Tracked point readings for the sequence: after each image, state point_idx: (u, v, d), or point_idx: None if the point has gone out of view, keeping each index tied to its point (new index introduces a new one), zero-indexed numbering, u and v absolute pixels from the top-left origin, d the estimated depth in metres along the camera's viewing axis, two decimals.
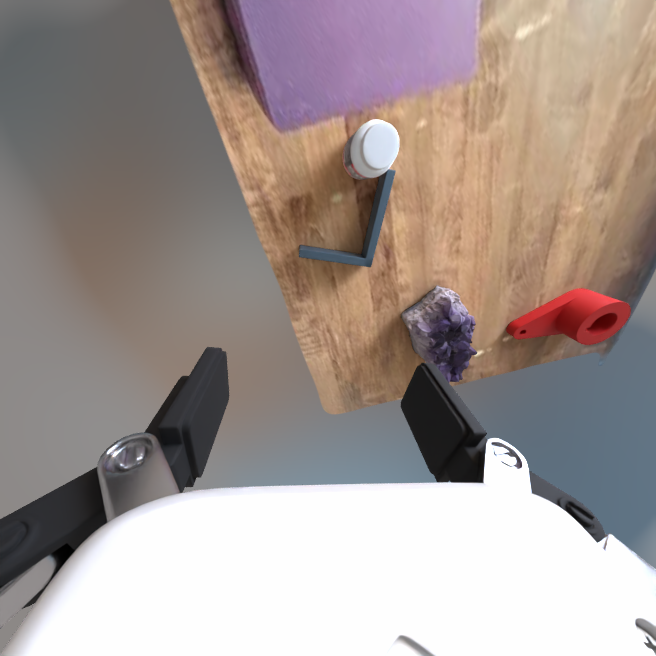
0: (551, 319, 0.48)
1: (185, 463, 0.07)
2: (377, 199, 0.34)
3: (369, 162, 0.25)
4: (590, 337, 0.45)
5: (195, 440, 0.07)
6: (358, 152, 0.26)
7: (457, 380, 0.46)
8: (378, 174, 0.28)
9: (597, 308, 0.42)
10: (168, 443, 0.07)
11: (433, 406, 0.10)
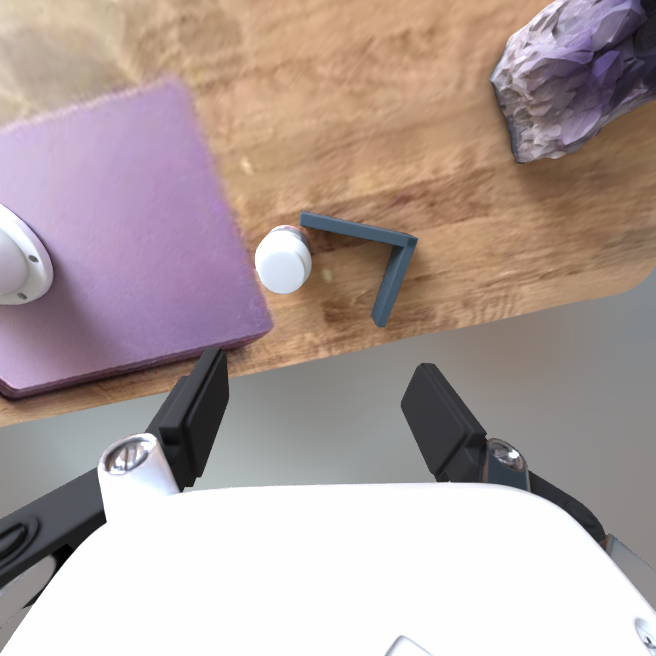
0: None
1: (185, 463, 0.07)
2: None
3: (298, 286, 0.20)
4: None
5: (195, 440, 0.07)
6: None
7: None
8: (308, 258, 0.22)
9: None
10: (168, 443, 0.07)
11: (433, 406, 0.10)
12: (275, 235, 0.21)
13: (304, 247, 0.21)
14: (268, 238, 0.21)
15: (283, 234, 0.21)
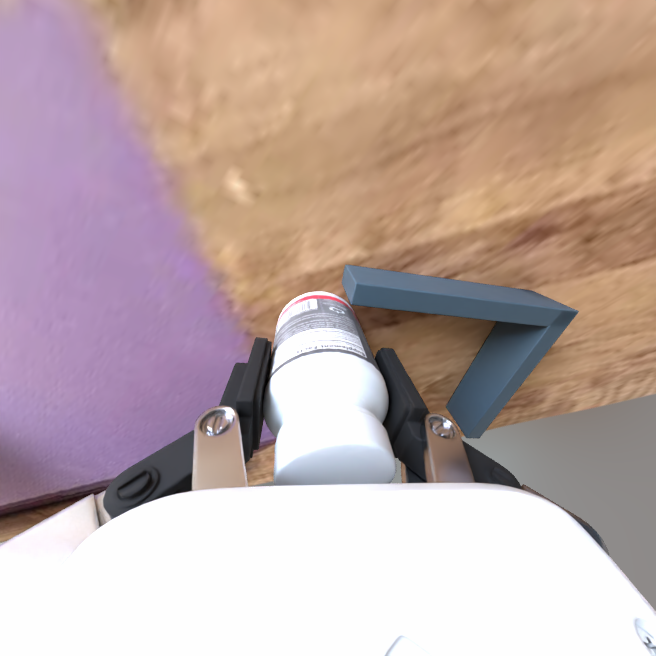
0: None
1: (251, 434, 0.08)
2: None
3: None
4: None
5: (259, 415, 0.08)
6: None
7: None
8: (386, 399, 0.09)
9: None
10: (241, 416, 0.08)
11: (386, 387, 0.10)
12: (311, 362, 0.08)
13: (378, 380, 0.09)
14: (294, 370, 0.08)
15: (330, 357, 0.08)
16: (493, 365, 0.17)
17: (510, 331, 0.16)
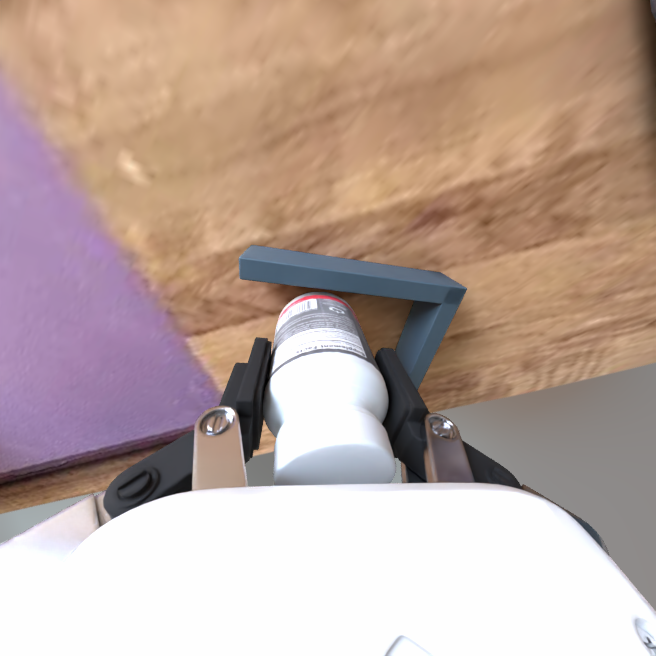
0: None
1: (251, 434, 0.08)
2: None
3: None
4: None
5: (259, 415, 0.08)
6: None
7: None
8: (386, 399, 0.09)
9: None
10: (241, 416, 0.08)
11: (386, 387, 0.10)
12: (310, 362, 0.08)
13: (378, 380, 0.09)
14: (294, 370, 0.08)
15: (329, 357, 0.08)
16: (409, 345, 0.18)
17: (420, 311, 0.17)
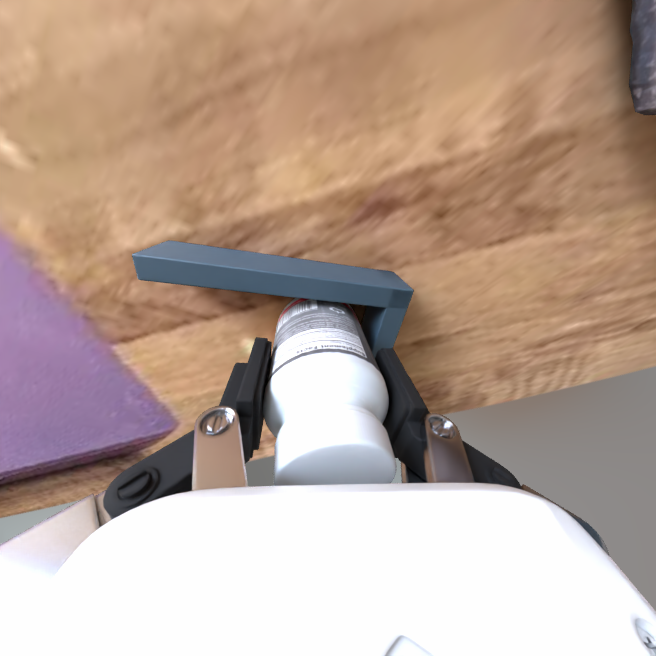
0: None
1: (251, 434, 0.08)
2: None
3: None
4: None
5: (259, 415, 0.08)
6: None
7: None
8: (386, 399, 0.09)
9: None
10: (241, 416, 0.08)
11: None
12: (311, 362, 0.08)
13: (379, 380, 0.09)
14: (294, 370, 0.08)
15: (330, 357, 0.08)
16: None
17: (370, 315, 0.15)
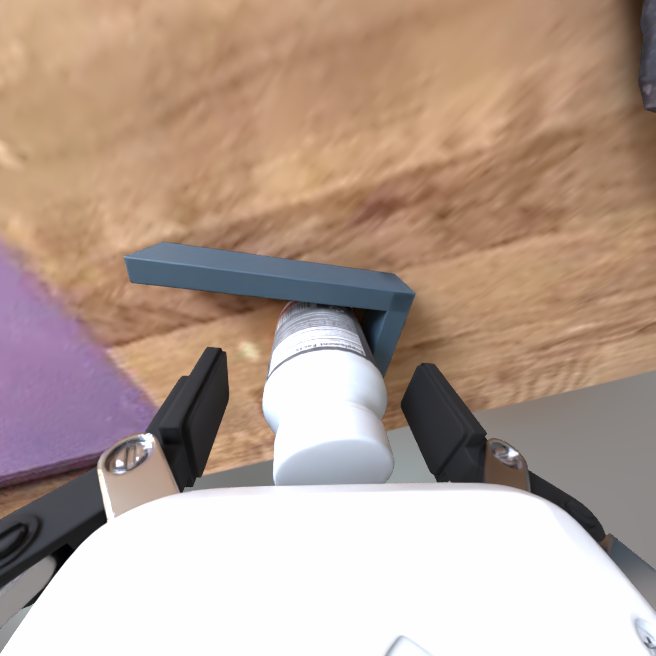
0: None
1: (185, 463, 0.07)
2: None
3: None
4: None
5: (195, 440, 0.07)
6: None
7: None
8: (384, 397, 0.09)
9: None
10: (168, 443, 0.07)
11: (433, 406, 0.10)
12: (310, 359, 0.08)
13: (377, 378, 0.09)
14: (293, 368, 0.08)
15: (329, 355, 0.09)
16: None
17: (371, 318, 0.14)
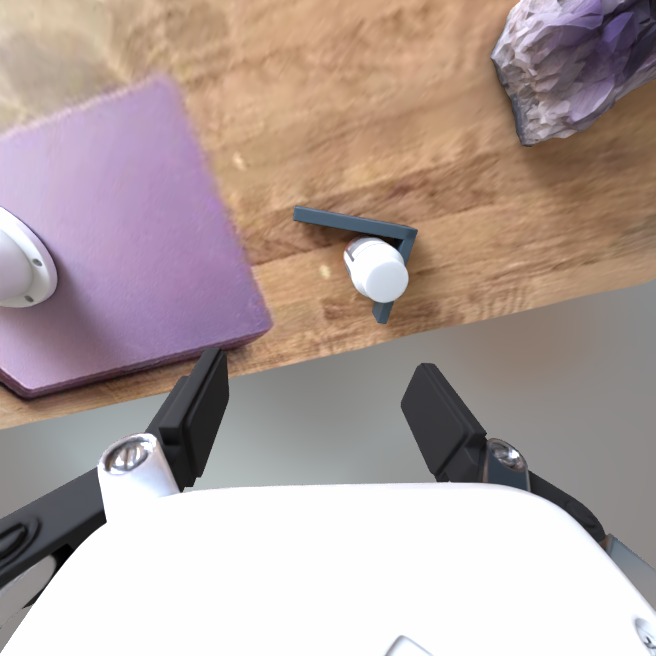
0: None
1: (185, 463, 0.07)
2: None
3: (399, 294, 0.21)
4: None
5: (195, 440, 0.07)
6: None
7: None
8: (403, 266, 0.22)
9: None
10: (168, 443, 0.07)
11: (433, 406, 0.10)
12: (375, 246, 0.22)
13: (401, 256, 0.22)
14: (368, 249, 0.22)
15: (382, 245, 0.22)
16: None
17: None
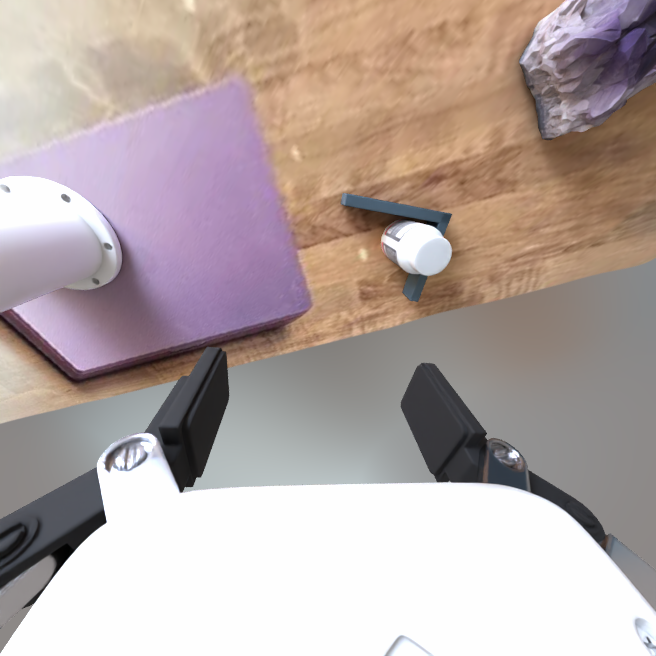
0: None
1: (185, 463, 0.07)
2: None
3: (443, 268, 0.24)
4: None
5: (195, 440, 0.07)
6: None
7: None
8: None
9: None
10: (168, 443, 0.07)
11: (433, 406, 0.10)
12: (420, 226, 0.25)
13: None
14: (414, 229, 0.25)
15: (426, 225, 0.25)
16: None
17: None
